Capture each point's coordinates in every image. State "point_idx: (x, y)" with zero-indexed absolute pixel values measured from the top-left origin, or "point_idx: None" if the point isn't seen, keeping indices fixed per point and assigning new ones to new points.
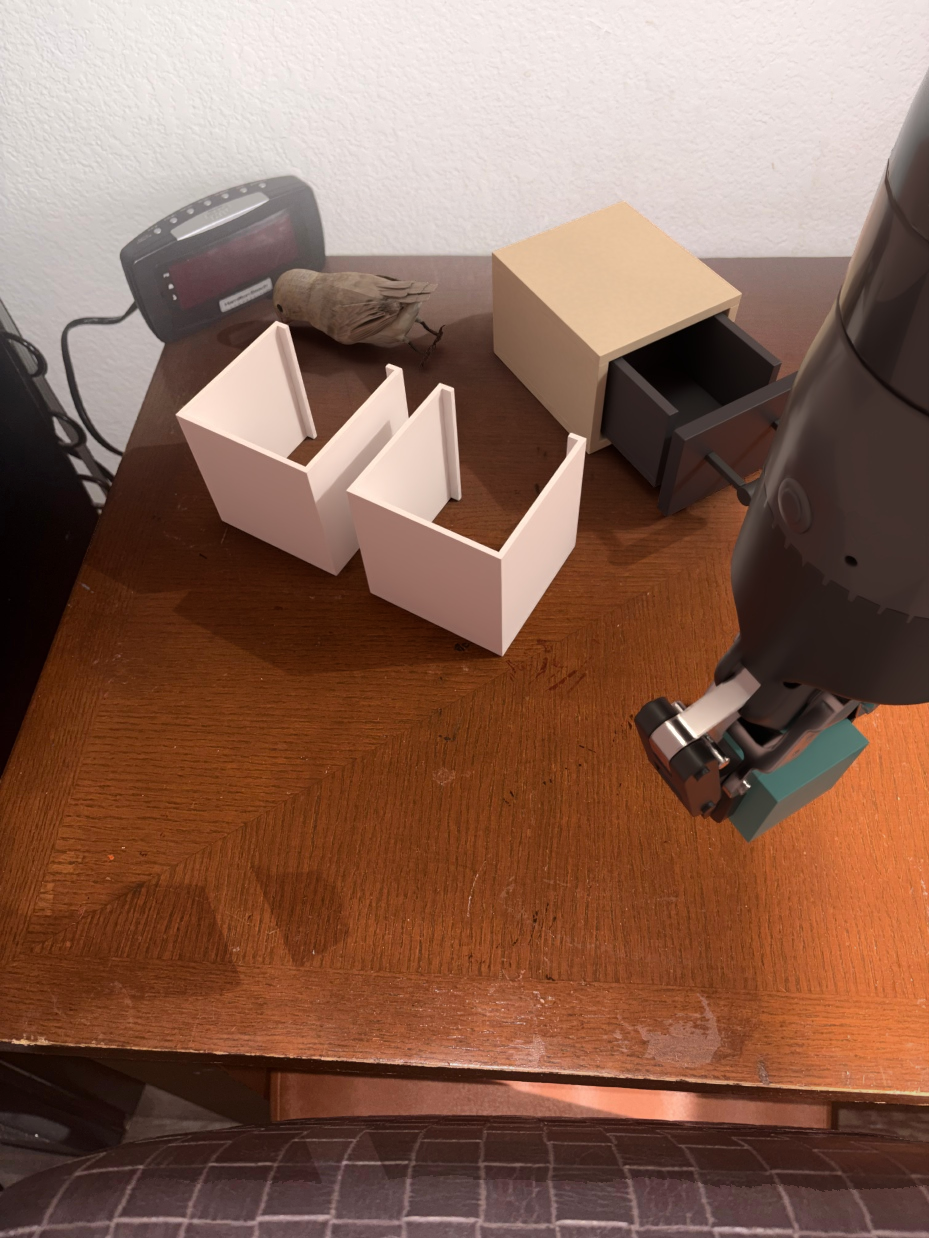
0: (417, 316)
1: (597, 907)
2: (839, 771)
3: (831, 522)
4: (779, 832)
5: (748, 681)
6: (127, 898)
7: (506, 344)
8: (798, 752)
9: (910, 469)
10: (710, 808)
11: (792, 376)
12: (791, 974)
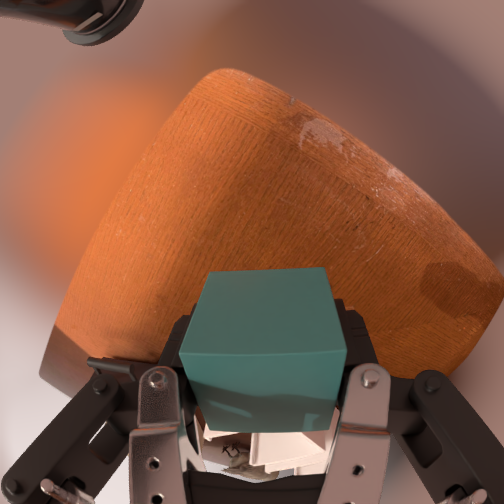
0: (230, 458)
1: (323, 215)
2: (215, 312)
3: None
4: (201, 202)
5: None
6: (470, 312)
7: (200, 440)
8: (348, 462)
9: None
10: (436, 386)
11: None
12: (244, 132)
